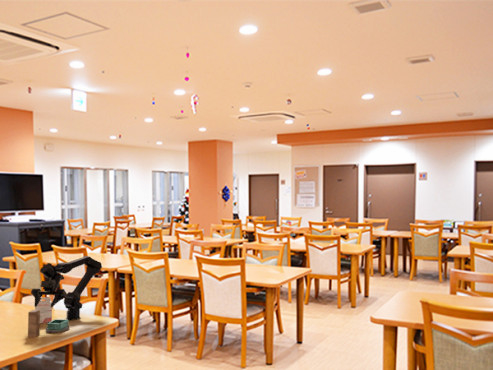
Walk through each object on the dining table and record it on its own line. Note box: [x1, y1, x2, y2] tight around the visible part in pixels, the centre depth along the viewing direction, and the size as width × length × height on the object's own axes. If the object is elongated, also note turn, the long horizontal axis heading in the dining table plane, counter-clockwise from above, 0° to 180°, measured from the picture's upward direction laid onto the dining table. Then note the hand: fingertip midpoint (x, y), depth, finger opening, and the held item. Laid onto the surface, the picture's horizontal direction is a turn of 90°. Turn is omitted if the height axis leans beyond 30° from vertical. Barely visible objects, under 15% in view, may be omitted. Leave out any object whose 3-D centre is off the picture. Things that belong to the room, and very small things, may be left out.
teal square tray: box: [45, 318, 70, 334], centre depth 233 cm, size 12×12×4 cm
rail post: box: [27, 309, 41, 338], centre depth 223 cm, size 4×4×13 cm
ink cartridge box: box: [34, 296, 53, 324], centre depth 248 cm, size 9×5×15 cm, turn 105°
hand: (43, 306), depth 231 cm, fingers open, 9 cm apart
